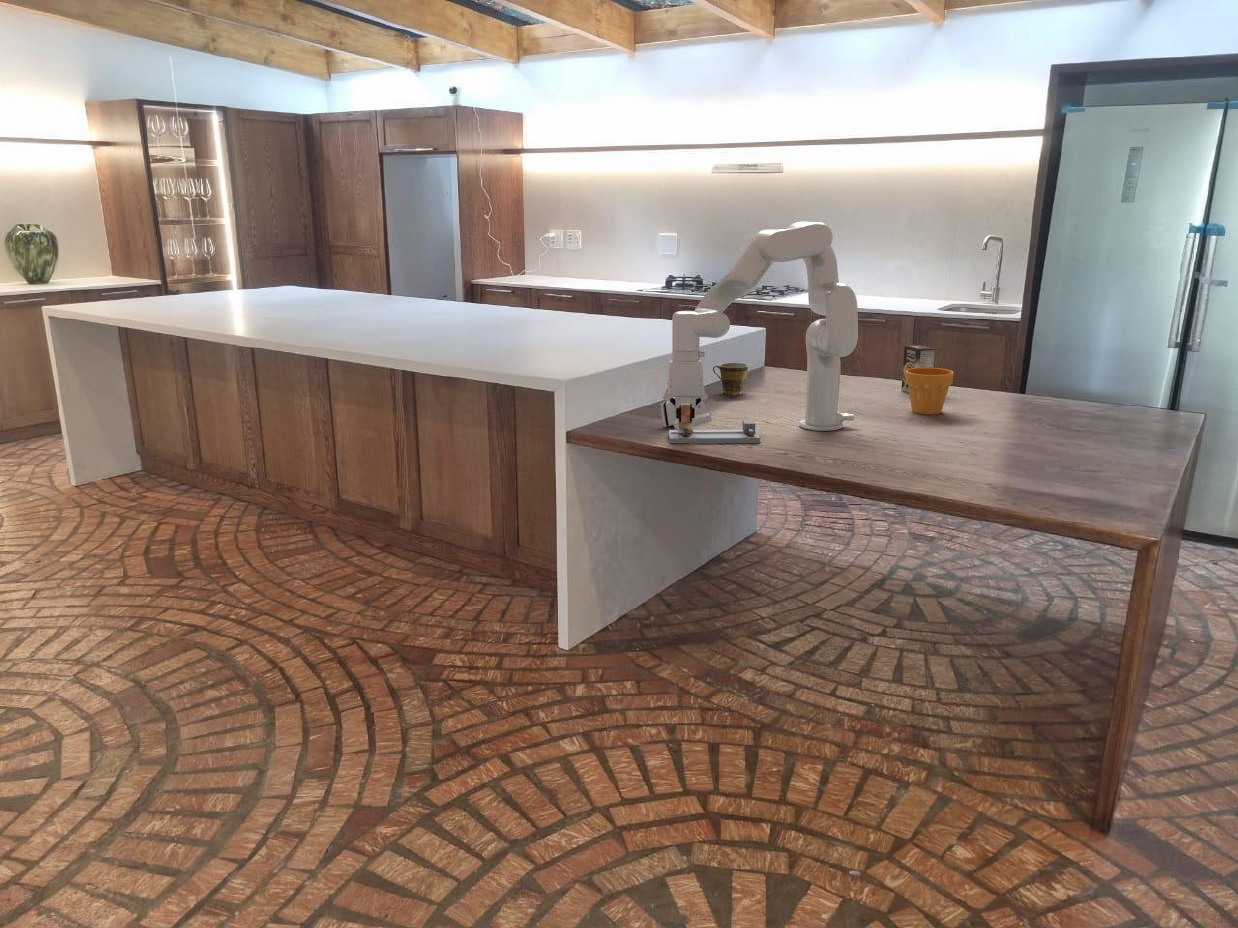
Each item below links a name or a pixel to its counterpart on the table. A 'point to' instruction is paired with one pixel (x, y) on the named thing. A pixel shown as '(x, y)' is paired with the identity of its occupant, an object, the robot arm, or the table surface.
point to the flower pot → (928, 388)
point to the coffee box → (916, 360)
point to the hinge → (670, 412)
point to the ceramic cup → (732, 377)
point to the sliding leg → (685, 420)
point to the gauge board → (718, 435)
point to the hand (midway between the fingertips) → (685, 420)
